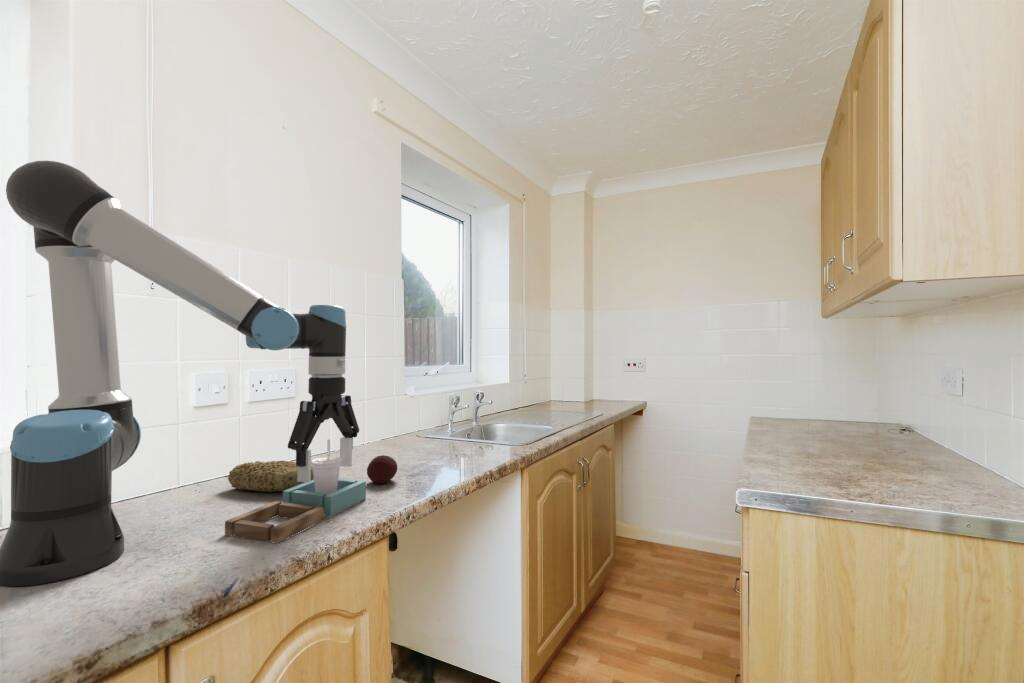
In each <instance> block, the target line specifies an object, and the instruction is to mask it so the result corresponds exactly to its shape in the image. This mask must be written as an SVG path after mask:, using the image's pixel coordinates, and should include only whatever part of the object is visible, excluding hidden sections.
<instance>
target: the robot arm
mask: <svg viewBox="0 0 1024 683" xmlns="http://www.w3.org/2000/svg"><path fill="white" fill-rule="evenodd" d="M5 185H6V186H5V194H6V199H7V201H8V203H9V205H10V207H11V209H12V210H13V212H14V213H15V214H16V215H17V216H18V217H19V218H20V219H21V220H23V221H24V222H26V223H27V224H28V225H31V226H32V227H33V238H34V249H35V253H37V254H38V255H39V256H41V257H43V259H45V260H46V261H47V262H48V274H49V284H50V285H49V286H50V299H51V300H50V301H51V310H52V311H51V312H52V323H53V336H54V337H53V338H54V349H55V360H56V361H55V362H56V373H57V374H56V375H57V386H58V396H57V398H56V399H55V400H54V401H53V402H51V403H50V404H48V406H47V409H48V410H47V411H48V412H47V414H42V413H41V414H37V415H34V416H31V417H27V418H26V419H23V420H21V421H20V422H19V423H18V424H16V426H14V428H13V430H12V440H11V441H10V446H9V450H10V454H11V456H10V458H11V459H10V461H11V462H10V467H11V468H10V471H11V472H10V473H11V474H10V524H9V526H8V529H7V531H6V534H5V536H4V539H3V541H2V543H1V545H0V586H7V587H25V586H26V587H27V586H35V585H42V584H48V583H53V582H59V581H62V580H67V579H71V578H74V577H77V576H82V575H84V574H86V573H90V572H93V571H96V570H98V569H100V568H102V567H105V566H107V565H109V564H110V563H112V562H114V561H116V560H117V559H119V558H120V557H121V556H122V555H123V554H124V552H125V536H124V534H123V531H122V528H121V527H120V524H119V522H118V520H117V519H118V518H117V517H116V514H115V511H114V510H113V507H112V488H113V487H112V485H113V484H112V483H113V482H112V481H113V480H112V478H113V476H112V475H113V474H112V473H113V471H115V470H117V469H119V468H120V467H122V466H123V465H124V464H125V463H127V462H128V461H129V460H130V459H131V457H133V456H134V454H135V453H136V451H137V449H138V447H139V445H140V442H141V438H142V429H141V426H140V423H139V422H138V419H136V417H135V416H134V411H133V399H132V397H131V396H130V395H128V394H127V393H125V391H123V390H122V388H121V375H120V374H121V373H120V363H119V362H120V361H119V359H120V358H119V350H118V348H119V347H118V335H117V325H116V322H117V321H116V320H117V319H116V310H115V297H114V295H115V294H114V284H113V282H114V281H113V271H112V264H113V262H115V261H117V262H118V263H120V264H122V265H124V266H126V267H127V268H129V269H131V270H132V271H134V272H136V273H137V274H139V275H141V276H143V277H144V278H145V279H147V280H149V281H151V282H153V283H155V284H156V285H158V286H160V287H161V288H163V289H164V290H167V291H169V292H170V293H172V294H174V295H175V296H176V297H179V298H180V299H182V300H184V301H186V302H188V303H189V304H191V305H193V306H195V307H196V308H198V309H199V310H201V311H203V312H205V313H207V314H208V315H210V316H212V317H214V318H215V319H217V320H219V321H220V322H222V323H224V324H226V325H228V326H229V327H231V328H232V329H234V330H236V331H238V332H239V333H241V334H242V335H244V336H245V345H246V346H247V347H248V348H250V349H260V350H269V351H282V350H285V349H288V350H290V349H294V350H295V349H299V350H300V349H301V350H304V349H308V372H307V373H308V375H310V377H309V378H308V394H309V395H311V400H301V401H300V402H299V411H298V415H297V417H296V420H295V423H294V427H293V429H292V431H291V434H290V437H289V441H288V443H287V448H288V449H290V450H293V451H295V463H296V466H297V481H298V482H306V483H309V482H311V461H312V450H311V449H309V447H310V446H311V444H312V441H313V440H314V437H315V436H316V434H317V432H318V430H319V428H320V426H321V424H323V423H324V422H326V421H327V420H329V419H332V420H333V422H334V424H335V425H336V427H337V428H338V430H339V432H340V433H341V435H342V437H340V438H339V458H341V459H342V464H341V465H340V467H348V468H349V467H350V468H351V467H352V466H353V448H354V444H353V442H354V441H353V440H354V438H357V437H358V434H359V432H360V428H359V424H358V420H357V418H356V415H355V412H354V409H353V406H352V396H351V395H346V394H345V393H346V378H345V376H344V375H345V374H346V353H347V352H346V347H347V345H346V344H347V343H346V342H347V323H346V319H347V318H346V311H345V309H344V307H342V306H340V305H336V304H335V305H332V304H314V305H313V304H312V305H311V306H309V311H308V313H292V312H290V311H289V310H287V309H286V308H285V307H284V308H283V307H280V306H279V305H277V304H275V303H274V302H272V301H271V300H269V299H267V298H265V297H263V296H262V295H261V294H259V293H257V292H256V291H255V290H253V289H251V288H250V287H248V286H246V285H245V284H243V283H241V282H240V281H238V280H236V279H235V278H233V277H232V276H230V275H229V274H227V273H225V272H224V271H223V270H221V269H219V268H217V267H216V266H214V265H212V264H211V263H209V262H208V261H206V260H204V259H203V258H201V257H199V256H198V255H196V254H195V253H193V252H192V251H190V250H188V249H187V248H185V247H183V246H182V245H180V244H179V243H177V242H175V241H174V240H172V239H171V238H169V237H167V236H166V235H164V234H162V233H161V232H159V231H158V230H156V229H154V228H153V227H151V226H149V225H148V224H146V222H144V221H141V220H140V219H138V218H136V217H135V216H133V215H132V214H130V213H128V212H127V211H125V209H122V206H121V201H120V200H119V199H117V198H116V197H115V196H113V195H112V194H110V193H109V192H108V191H106V190H105V189H104V188H102V187H101V186H99V185H98V184H97V183H96V182H94V181H93V180H92V179H91V178H90V177H89V176H88V175H86V174H85V173H84V172H82V171H81V170H80V169H78V168H75V167H74V166H72V165H69V164H67V163H63V162H60V161H54V160H36V161H32V162H28V163H25V164H23V165H21V166H19V167H18V168H16V169H15V170H14V171H13V172H12V173H11V174H10V176H9V178H8V179H7V182H6V184H5Z"/></svg>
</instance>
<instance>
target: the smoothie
mask: <svg viewBox="0 0 1024 683" xmlns="http://www.w3.org/2000/svg"><path fill="white" fill-rule="evenodd" d="M326 447H327V450H326V451H327V452H326V453H327V456H324V457H317V458H313V459H311V467H312V469H313V477H314V486H315V492H317V493H325V494H327V495H329V494H331V493H333V492H335V491H337V485H338V478H340V477H339V476H340V471H341V470H340V469H341V466H340V465H341V464H342V459H341V458H340V457H338V456H331V439H327V446H326Z"/></svg>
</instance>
